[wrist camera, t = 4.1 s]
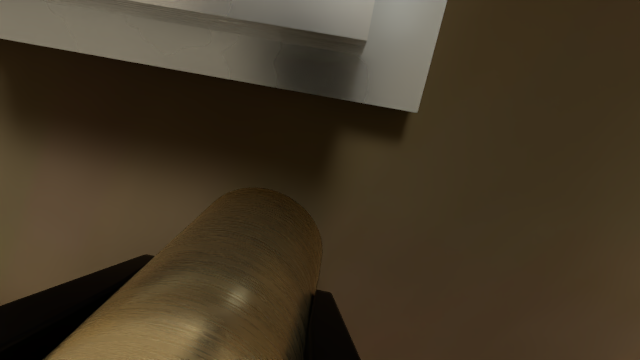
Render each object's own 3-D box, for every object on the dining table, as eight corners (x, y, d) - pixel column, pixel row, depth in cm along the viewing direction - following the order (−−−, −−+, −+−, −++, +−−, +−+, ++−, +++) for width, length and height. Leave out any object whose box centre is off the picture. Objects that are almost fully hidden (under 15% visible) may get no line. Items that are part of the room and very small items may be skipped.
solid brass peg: (332, 201, 9) (235, 757, 2) (311, 309, 11) (204, 888, 3) (201, 175, 9) (-397, 582, 2) (197, 285, 11) (-165, 773, 3)
